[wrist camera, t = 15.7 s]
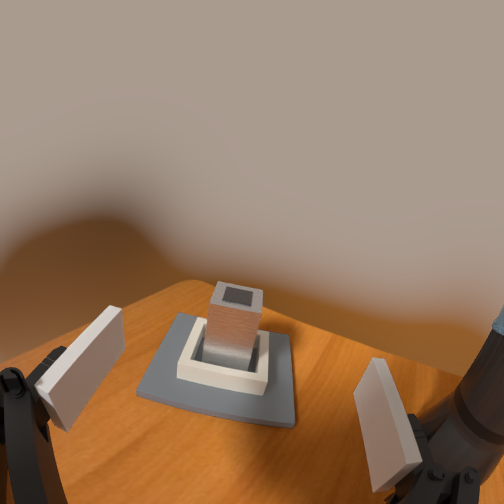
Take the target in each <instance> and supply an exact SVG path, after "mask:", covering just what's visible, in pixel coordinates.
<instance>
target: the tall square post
mask: <svg viewBox="0 0 504 504" xmlns="http://www.w3.org/2000/svg"><path fill="white" fill-rule="evenodd" d="M262 297H263V290H259V289H253V288H249V287H244V286H239V285H234V284H229V283H224V282H220V281H218V283H217V285H216V288H215V290H214V293H213V295H212V298H211V300H210V303H209V310H208V317H207V324H206V332H205V340H204V347H203V355H202V362H203V363H208V364H212V365H217V366H221V367H226V368H231V369H236V370H241V371H247V370H248V366H249V362H250V358H251V354H252V350H253V347H254V343H255V339H256V335H257V331H258V327H259V323H260V319H261V315H262V299H263V298H262Z"/></svg>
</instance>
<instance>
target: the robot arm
mask: <svg viewBox="0 0 504 504" xmlns="http://www.w3.org/2000/svg"><path fill="white" fill-rule="evenodd" d="M492 327H493V329H492V331H491V332H490V334H489V336H488V338H487V340H486V342H485V343H484V345H483V347H482V349H481V350H480V352H479V354H478V355H477V357H476V359H475V360H474V362H473V364H472V365H471V367H470V368H469V370H468V371H467V373H466V374H465V376H464V377H463V379H462V381H461V382H460V383H459V385H458V386H457V388H456V389H455V390H454V391H453V392H452V393H451V394H450V395H448V396H447V397H446V398H444V399H443V400H441V401H440V402H439V403H437V404H436V405H435V406H433V407H432V408H430V409H429V410H427V411H426V412H425V413H423V414H422V415H421V416H420V417H419V419H417V418H416V416H415V415H414V414H406V411H405V409H404V406H403V403H402V401H401V398H400V395H399V393H398V390H397V388H396V385H395V383H394V380H393V378H392V375H391V373H390V370H389V368H388V365H387V363H386V361H385V359H383V358H372V359H371V361H370V363H369V365H368V367H367V369H366V371H365V373H364V375H363V376H362V378H361V380H360V382H359V384H358V386H357V387H356V389H355V391H354V393H353V395H354V399H355V403H356V408H357V412H358V417H359V421H360V426H361V431H362V436H363V441H364V446H365V451H366V456H367V462H368V467H369V473H370V479H371V485H372V491H373V493H377V492H384V491H388V490H390V489H391V488H392V487H393V486H395V489H396V491H395V492H394V493H392V494H391V495H390V496H388V497H387V498H386V499H385V500H384V501H385V502H386V501H387V500H388V499H389V500H388V502H387V503H386V504H478V502H479V491H480V485H482V484H483V483H484V482H485V481H486V480H487V479H488V478H489V477H490V475H491V474H492V472H493V471H494V469H495V468H496V466H497V465H498V463H499V462H500V460H501V458H502V457H503V455H504V306H503V308H502V310H501V312H500V314H499V316H498V317H497V318H496V319H495V320H494V322H493V325H492ZM125 349H126V348H125V339H124V329H123V317H122V309H120V308H117V307H114V306H109V307H108V308H107V309H106V310H105V311H104V312H103V313H102V314H101V315H100V316H99V317H98V318H97V319H96V320H95V321H94V322H93V323H92V324H91V325H90V326H89V327H88V328H87V329H86V330H85V331H84V332H83V333H82V334H81V335H80V336H79V337H78V338H77V339H76V340H75V341H74V342H73V343H72V344H71V345H70V346H69V347H68V348H66V347H63V346H60V347H58V348H56V349H54V350H53V351H52V352H51V353H50V354H49V355H48V356H47V358H45V359H44V360H43V361H42V363H40V364H39V365H38V366H37V367H36V368H35V369H34V370H33V371H32V372H31V374H30V375H29V376H28V377H27V378H26V379H25V378H24V376H23V374H22V372H21V371H20V370H19V369H17V368H14V367H9V368H5V369H4V370H2V371H1V372H0V504H6V484H7V469H8V468H9V475H10V481H11V486H12V491H13V496H14V500H15V504H68V503H67V500H66V497H65V494H64V490H63V487H62V484H61V480H60V477H59V473H58V469H57V465H56V461H55V457H54V452H53V447H52V442H51V437H50V431H49V426H48V423H47V422H48V421H49V419H50V418H51V420H52V422H53V424H54V425H55V426H56V427H58V428H60V429H62V430H63V431H65V432H67V433H68V431H69V430H70V428H71V427H72V425H73V424H74V422H75V421H76V419H77V418H78V416H79V415H80V413H81V412H82V410H83V409H84V407H85V406H86V404H87V403H88V401H89V400H90V398H91V397H92V396H93V394H94V393H95V391H96V390H97V388H98V387H99V385H100V384H101V383H102V381H103V380H104V378H105V377H106V375H107V374H108V373H109V371H110V370H111V368H112V367H113V366H114V364H115V363H116V361H117V360H118V359H119V357H120V356H121V355H122V353H123V352H124V350H125Z"/></svg>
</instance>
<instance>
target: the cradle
mask: <svg viewBox="0 0 504 504" xmlns="http://www.w3.org/2000/svg"><path fill="white" fill-rule="evenodd" d="M206 324H207V319H206V318H201V317H197V316H192V315H188V314H184V313H180V312H179V313H178V315H177V316H176V318H175V320H174V322H173V323H172V325H171V327H170V329H169V331H168V332H167V334H166V336H165V338H164V340H163V341H162V343H161V345H160V347H159V349H158V350H157V352H156V354H155V356H154V358H153V360H152V361H151V363H150V365H149V367H148V369H147V371H146V373H145V374H144V376H143V378H142V380H141V382H140V384H139V386H138V388H137V389H136V393H137V396H140V397H143V398H146V399H149V400H152V401H155V402H159V403H162V404H166V405H169V406H173V407H176V408H180V409H184V410H188V411H192V412H196V413H200V414H205V415H209V416H214V417H219V418H224V419H229V420H235V421H240V422H246V423H253V424H260V425H267V426H275V427H284V428H293V427H294V425H295V411H294V394H293V378H292V364H291V350H290V337H289V335H287V334H281V333H275V332H270V331H264V330H259V329H258V331H257V335H256V339H255V343H254V347H253V350H252V354H251V358H250V362H249V366H248V370H247V371H241V370H236V369H231V368H226V367H221V366H217V365H212V364H208V363H203V362H202V355H203V347H204V340H205V332H206Z"/></svg>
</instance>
